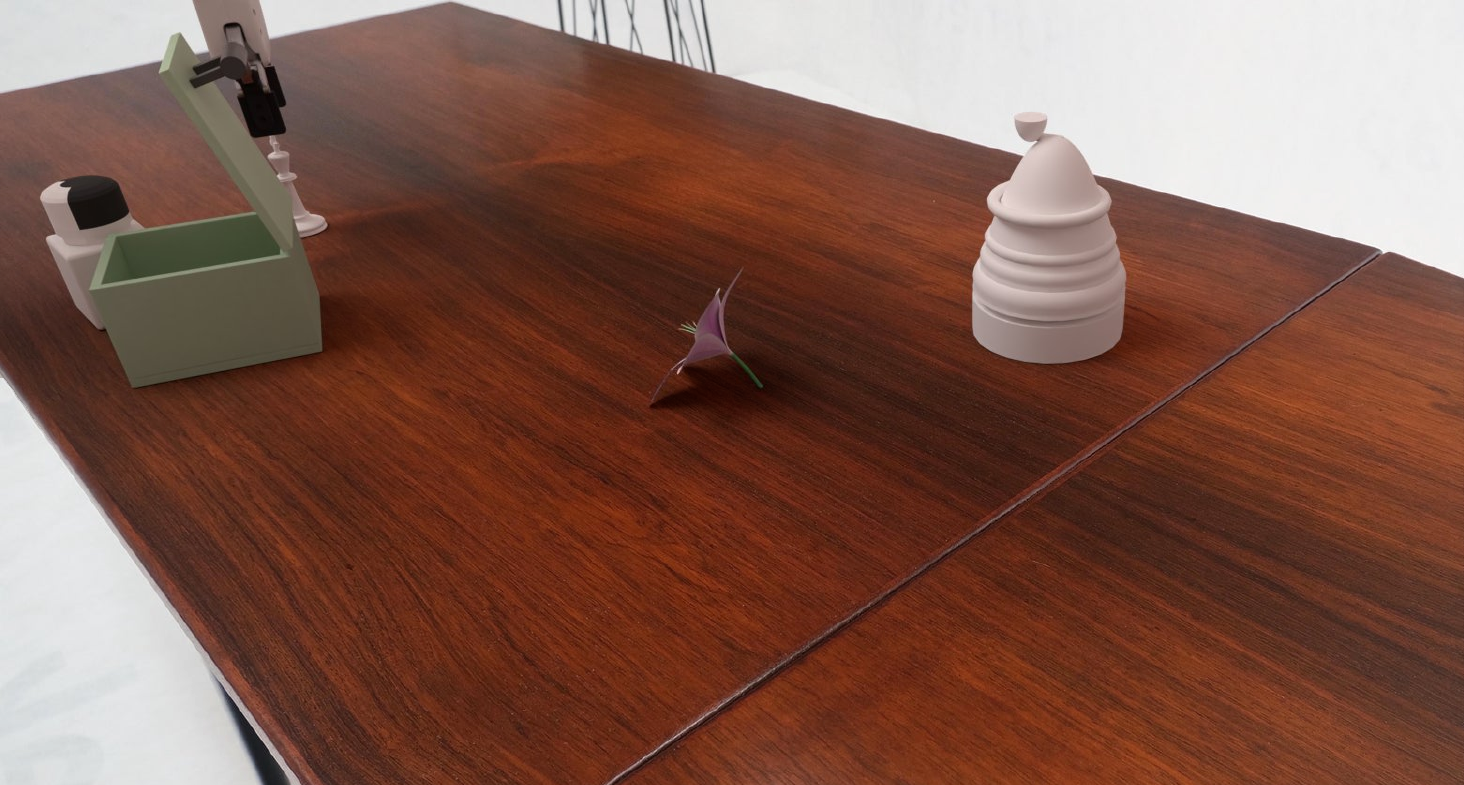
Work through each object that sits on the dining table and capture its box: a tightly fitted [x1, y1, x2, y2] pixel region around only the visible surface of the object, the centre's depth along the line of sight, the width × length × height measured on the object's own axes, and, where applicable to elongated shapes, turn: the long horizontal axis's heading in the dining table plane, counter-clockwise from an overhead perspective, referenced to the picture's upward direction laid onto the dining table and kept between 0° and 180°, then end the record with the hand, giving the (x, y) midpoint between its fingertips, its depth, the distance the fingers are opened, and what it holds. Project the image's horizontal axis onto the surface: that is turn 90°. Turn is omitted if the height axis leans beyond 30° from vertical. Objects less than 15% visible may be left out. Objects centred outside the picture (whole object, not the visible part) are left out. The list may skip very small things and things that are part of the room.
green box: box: [89, 211, 323, 389], centre depth 104 cm, size 15×13×9 cm
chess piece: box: [267, 135, 328, 239], centre depth 124 cm, size 5×5×10 cm
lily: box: [648, 266, 764, 407], centre depth 95 cm, size 12×12×10 cm
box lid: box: [158, 31, 293, 252], centre depth 99 cm, size 16×13×5 cm
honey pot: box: [971, 111, 1127, 365], centre depth 98 cm, size 13×13×18 cm
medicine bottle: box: [39, 174, 146, 331], centre depth 109 cm, size 7×7×12 cm
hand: (270, 121), depth 121 cm, fingers open, 9 cm apart
